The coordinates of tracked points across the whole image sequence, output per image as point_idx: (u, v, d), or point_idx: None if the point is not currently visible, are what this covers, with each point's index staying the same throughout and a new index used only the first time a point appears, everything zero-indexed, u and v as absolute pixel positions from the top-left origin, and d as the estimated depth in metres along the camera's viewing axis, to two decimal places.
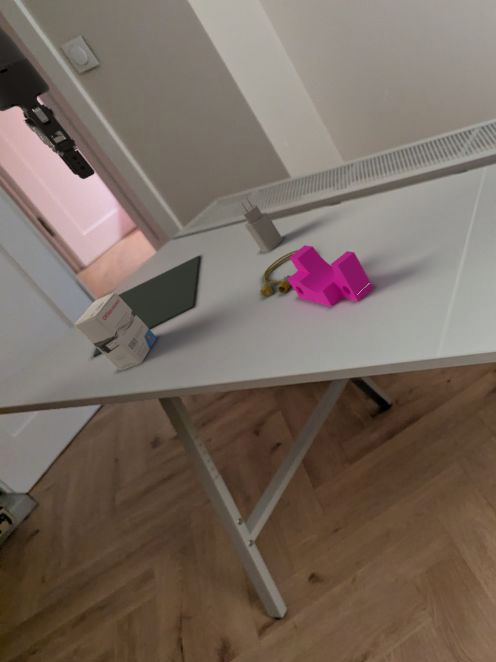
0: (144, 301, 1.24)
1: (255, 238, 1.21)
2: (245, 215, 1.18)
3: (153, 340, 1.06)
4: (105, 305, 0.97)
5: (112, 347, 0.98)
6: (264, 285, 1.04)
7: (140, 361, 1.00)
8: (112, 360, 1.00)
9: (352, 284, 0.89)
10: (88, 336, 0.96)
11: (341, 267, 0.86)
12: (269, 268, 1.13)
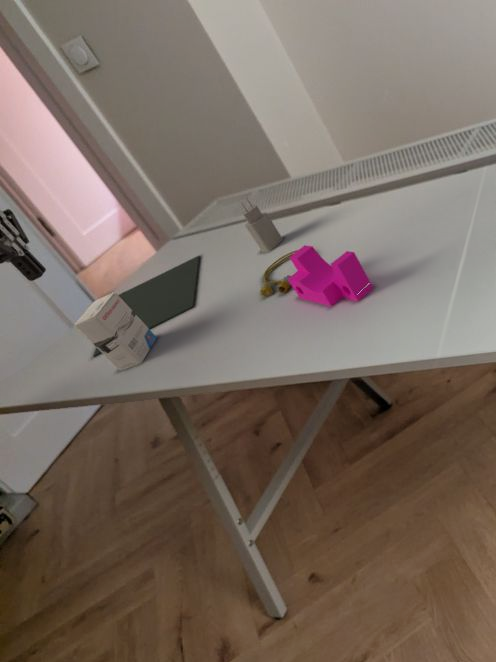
0: (144, 301, 1.24)
1: (255, 238, 1.21)
2: (245, 215, 1.18)
3: (153, 340, 1.06)
4: (105, 305, 0.97)
5: (112, 347, 0.98)
6: (264, 285, 1.04)
7: (140, 361, 1.00)
8: (112, 360, 1.00)
9: (352, 284, 0.89)
10: (88, 336, 0.96)
11: (341, 267, 0.86)
12: (269, 268, 1.13)
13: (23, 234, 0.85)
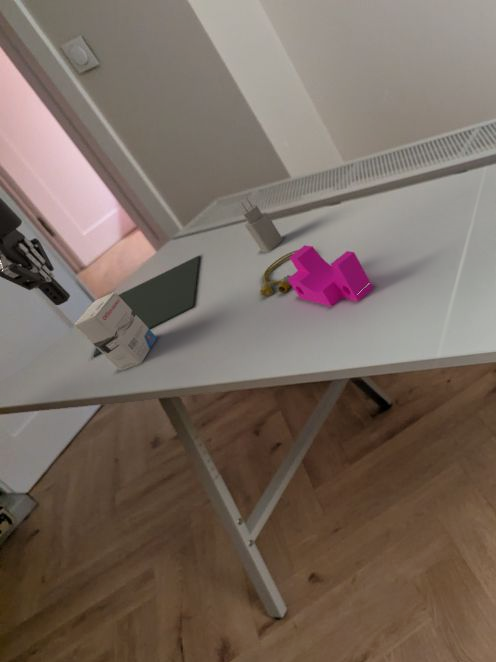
0: (144, 301, 1.24)
1: (255, 238, 1.21)
2: (245, 215, 1.18)
3: (153, 340, 1.06)
4: (105, 305, 0.97)
5: (112, 347, 0.98)
6: (264, 285, 1.04)
7: (140, 361, 1.00)
8: (112, 360, 1.00)
9: (352, 284, 0.89)
10: (88, 336, 0.96)
11: (341, 267, 0.86)
12: (269, 268, 1.13)
13: (48, 262, 0.88)
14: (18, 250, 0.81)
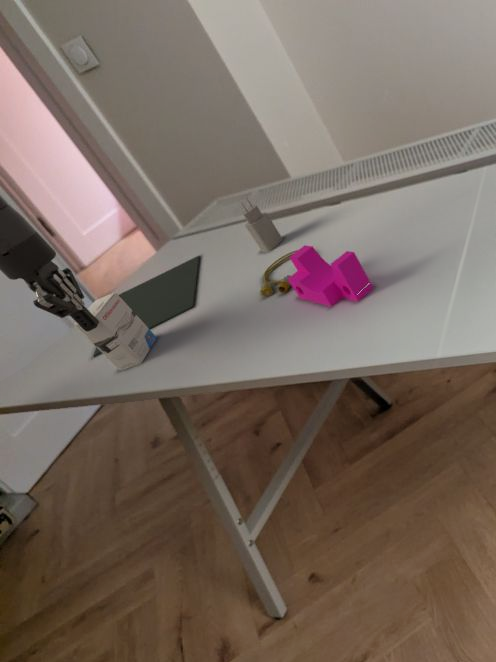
0: (144, 301, 1.24)
1: (255, 238, 1.21)
2: (245, 215, 1.18)
3: (153, 340, 1.06)
4: (105, 305, 0.97)
5: (112, 347, 0.98)
6: (264, 285, 1.04)
7: (140, 361, 1.00)
8: (112, 360, 1.00)
9: (352, 284, 0.89)
10: (88, 336, 0.96)
11: (341, 267, 0.86)
12: (269, 268, 1.13)
13: (79, 290, 0.92)
14: (52, 281, 0.86)
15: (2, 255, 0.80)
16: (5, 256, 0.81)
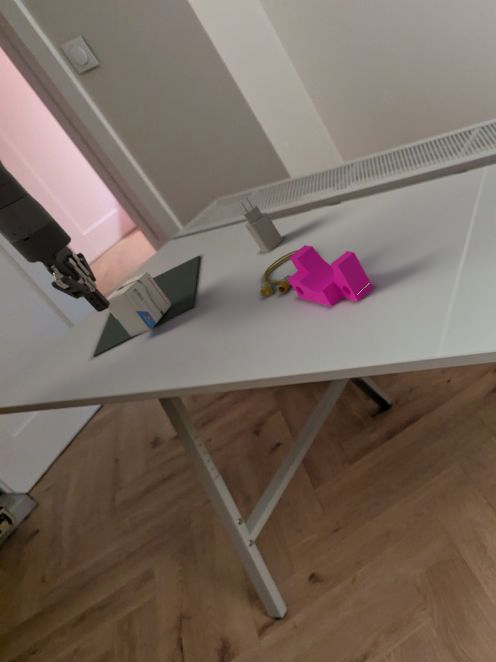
0: None
1: (255, 238, 1.21)
2: (245, 215, 1.18)
3: (147, 321, 1.06)
4: (158, 287, 1.14)
5: (125, 286, 1.07)
6: (264, 285, 1.04)
7: (125, 293, 1.03)
8: (111, 295, 1.05)
9: (352, 284, 0.89)
10: (124, 284, 1.10)
11: (341, 267, 0.86)
12: (269, 268, 1.13)
13: (91, 273, 1.00)
14: (68, 264, 0.93)
15: (23, 240, 0.87)
16: (25, 241, 0.88)
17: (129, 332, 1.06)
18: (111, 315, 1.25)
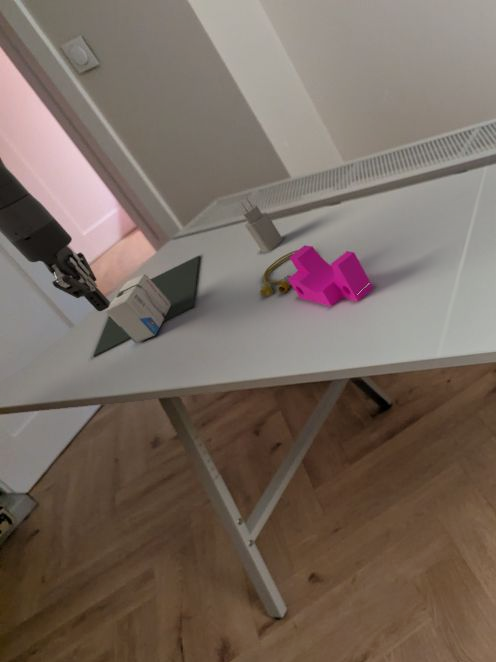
0: None
1: (255, 238, 1.21)
2: (245, 215, 1.18)
3: (151, 327, 1.06)
4: (157, 288, 1.13)
5: (125, 292, 1.06)
6: (264, 285, 1.04)
7: (127, 301, 1.03)
8: (112, 302, 1.05)
9: (352, 284, 0.89)
10: (123, 287, 1.09)
11: (341, 267, 0.86)
12: (269, 268, 1.13)
13: (92, 273, 1.00)
14: (69, 263, 0.94)
15: (24, 239, 0.88)
16: (27, 240, 0.88)
17: (134, 338, 1.07)
18: None
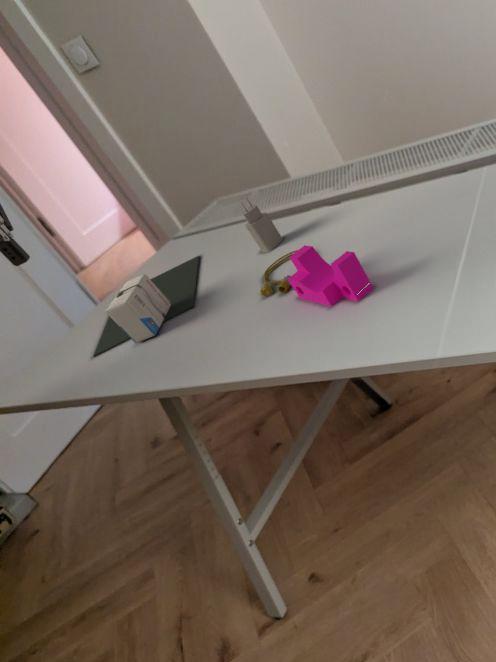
0: None
1: (255, 238, 1.21)
2: (245, 215, 1.18)
3: (151, 327, 1.06)
4: (157, 288, 1.13)
5: (125, 292, 1.06)
6: (264, 285, 1.04)
7: (127, 301, 1.03)
8: (112, 303, 1.05)
9: (352, 284, 0.89)
10: (123, 287, 1.09)
11: (341, 267, 0.86)
12: (269, 268, 1.13)
13: (8, 222, 0.86)
14: None
15: None
16: None
17: (134, 338, 1.07)
18: None
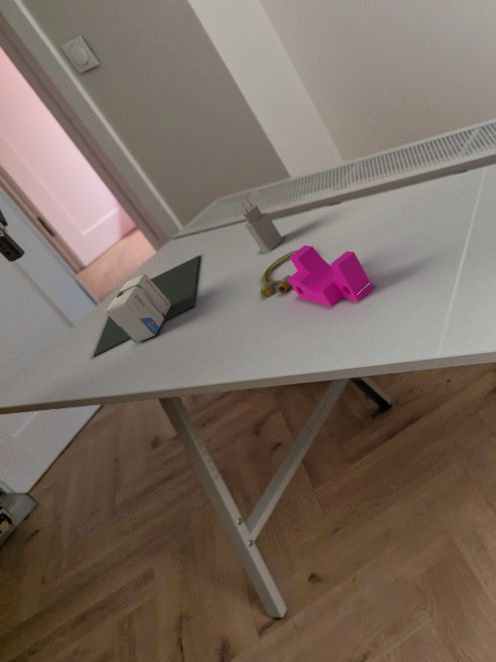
0: None
1: (255, 238, 1.21)
2: (245, 215, 1.18)
3: (151, 327, 1.06)
4: (157, 288, 1.13)
5: (125, 292, 1.06)
6: (264, 285, 1.04)
7: (127, 301, 1.03)
8: (112, 303, 1.05)
9: (352, 284, 0.89)
10: (123, 287, 1.09)
11: (341, 267, 0.86)
12: (269, 268, 1.13)
13: (2, 217, 0.86)
14: None
15: None
16: None
17: (134, 338, 1.07)
18: None
